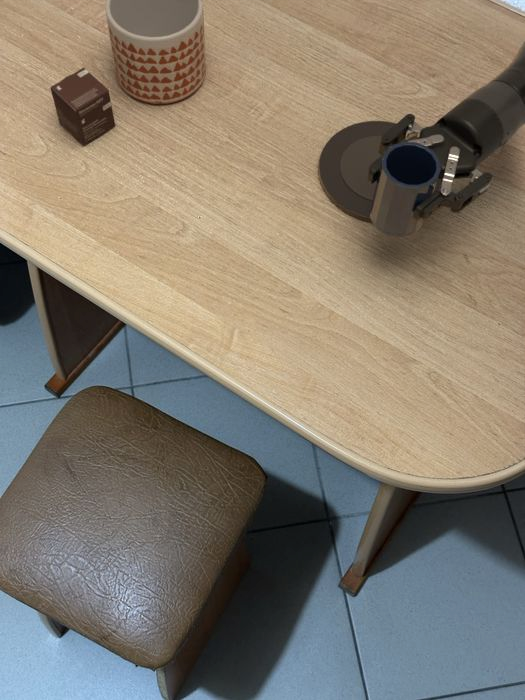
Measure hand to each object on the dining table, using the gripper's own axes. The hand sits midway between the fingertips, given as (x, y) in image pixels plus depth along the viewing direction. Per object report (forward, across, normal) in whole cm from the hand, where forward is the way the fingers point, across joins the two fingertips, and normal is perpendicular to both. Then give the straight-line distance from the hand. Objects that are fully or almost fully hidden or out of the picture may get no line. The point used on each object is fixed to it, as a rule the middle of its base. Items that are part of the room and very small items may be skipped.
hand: (393, 196), depth 100 cm
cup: (-2, 0, +6) cm, 6 cm away
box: (+13, -45, +15) cm, 50 cm away
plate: (-12, -10, +15) cm, 22 cm away
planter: (-1, -46, +15) cm, 48 cm away
